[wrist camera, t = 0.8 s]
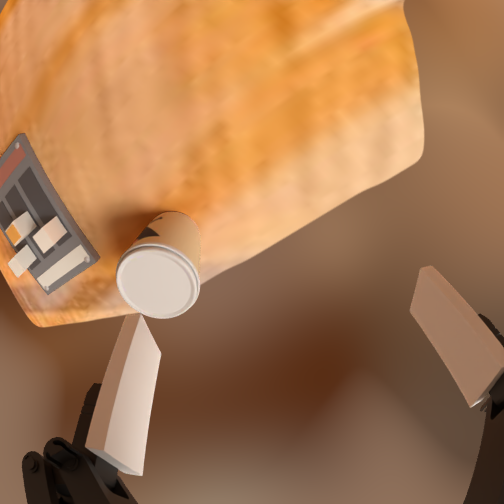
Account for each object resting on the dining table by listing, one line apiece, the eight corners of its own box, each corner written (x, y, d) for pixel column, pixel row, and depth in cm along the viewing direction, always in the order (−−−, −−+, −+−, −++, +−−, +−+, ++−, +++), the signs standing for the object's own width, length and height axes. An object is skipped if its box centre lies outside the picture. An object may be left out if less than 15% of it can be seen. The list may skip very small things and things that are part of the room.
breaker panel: (-16, 187, 30) (-35, 198, 25) (24, 132, 27) (1, 139, 22) (51, 290, 41) (38, 309, 36) (100, 257, 38) (86, 277, 33)
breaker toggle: (19, 220, 32) (4, 231, 28) (27, 210, 31) (11, 222, 28) (28, 234, 33) (14, 247, 30) (36, 226, 33) (22, 238, 29)
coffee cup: (161, 192, 35) (133, 229, 24) (219, 228, 38) (216, 277, 27) (132, 245, 38) (103, 294, 27) (186, 275, 41) (174, 332, 30)
